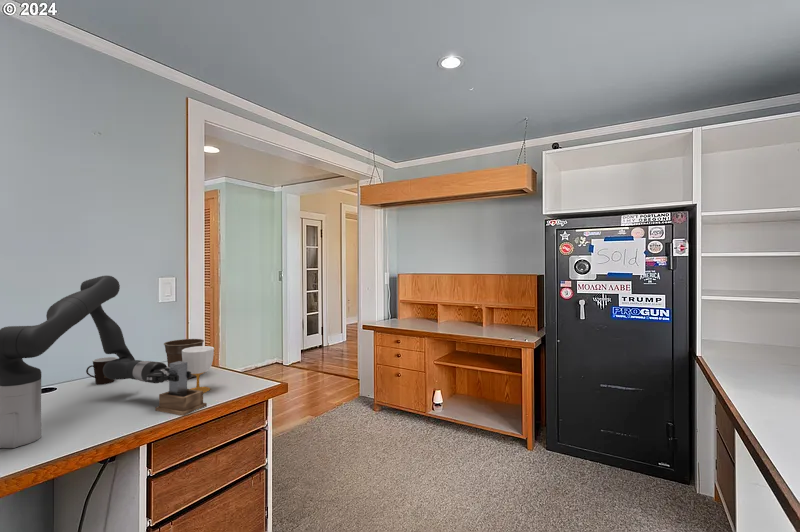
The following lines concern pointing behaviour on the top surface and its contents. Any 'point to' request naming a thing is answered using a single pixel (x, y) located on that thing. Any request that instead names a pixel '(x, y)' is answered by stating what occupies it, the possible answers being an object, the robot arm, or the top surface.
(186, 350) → the cup
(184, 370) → the bracket
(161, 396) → the box
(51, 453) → the top surface
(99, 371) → the coffee mug
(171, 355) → the plant pot
